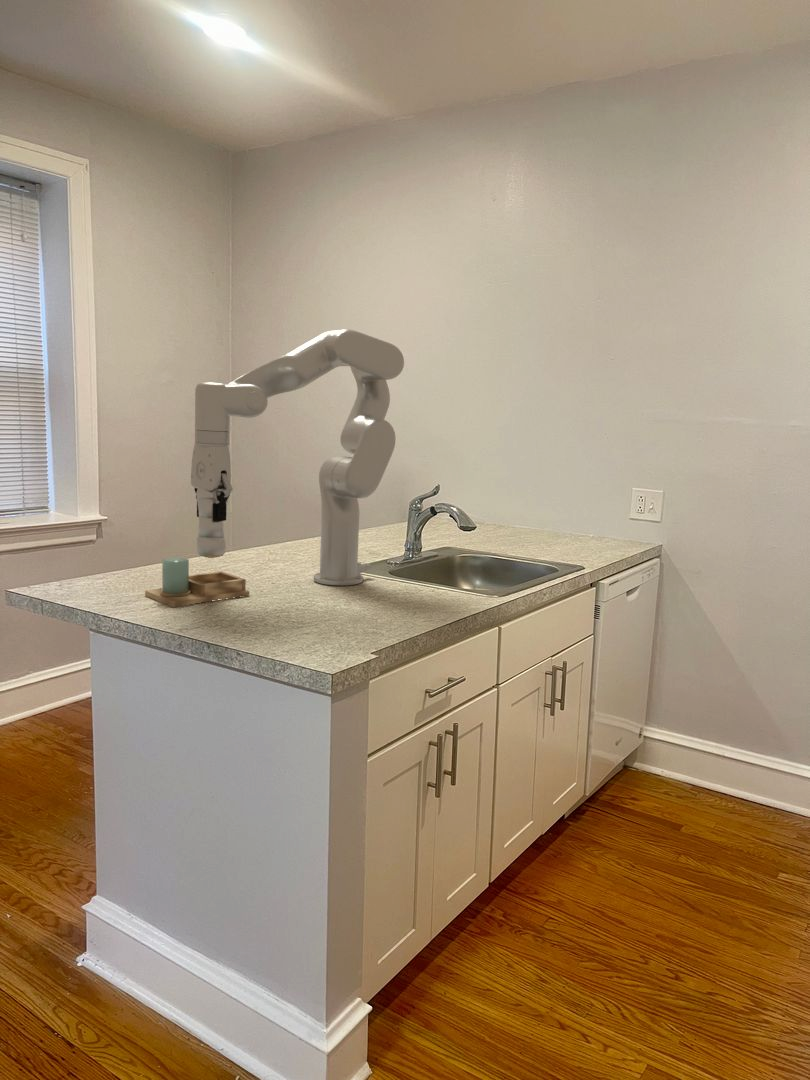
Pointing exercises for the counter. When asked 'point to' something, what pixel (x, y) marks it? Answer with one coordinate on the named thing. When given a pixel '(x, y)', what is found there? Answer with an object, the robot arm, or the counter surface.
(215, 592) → the oak caddy
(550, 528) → the counter surface
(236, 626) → the counter surface
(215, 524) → the plastic bottle
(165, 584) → the sage pillar candle
